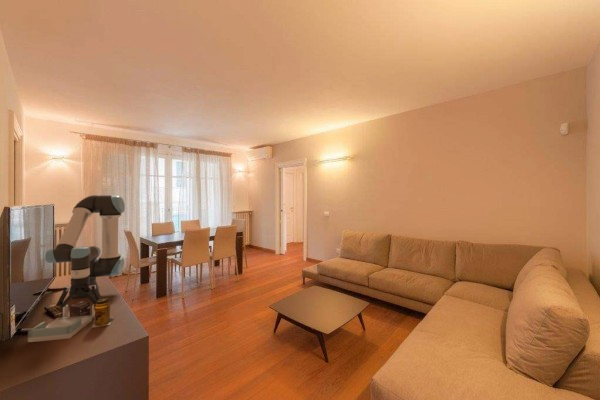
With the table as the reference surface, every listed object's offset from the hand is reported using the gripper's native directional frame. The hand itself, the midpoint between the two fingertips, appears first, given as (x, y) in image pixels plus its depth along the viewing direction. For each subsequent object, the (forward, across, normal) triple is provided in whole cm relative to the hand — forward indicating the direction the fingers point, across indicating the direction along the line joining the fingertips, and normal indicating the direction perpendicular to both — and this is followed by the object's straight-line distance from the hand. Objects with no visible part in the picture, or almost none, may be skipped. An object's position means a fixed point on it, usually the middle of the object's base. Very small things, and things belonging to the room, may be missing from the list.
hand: (80, 317), depth 129 cm
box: (0, 0, 0) cm, 0 cm away
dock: (0, 0, -12) cm, 12 cm away
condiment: (+1, +14, -8) cm, 17 cm away
